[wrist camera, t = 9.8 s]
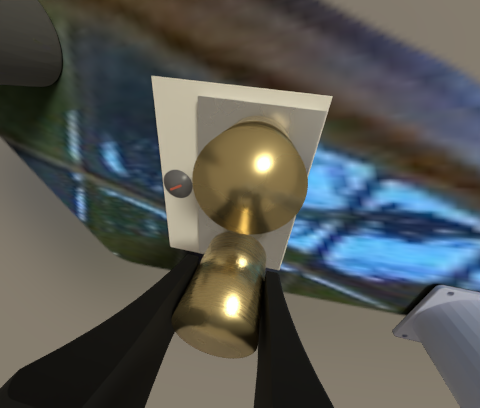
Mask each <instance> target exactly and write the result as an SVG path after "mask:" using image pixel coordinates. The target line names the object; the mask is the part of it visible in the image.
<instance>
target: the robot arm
mask: <svg viewBox="0 0 480 408" xmlns="http://www.w3.org/2000/svg"><path fill="white" fill-rule="evenodd" d="M197 267H198V256H195V255H190V254H188V255H186V256H185V257H184V258H183V259H182V260H181V261H180V262H179V263H178V264H177V265H176V266H175V267H174V268H173V269H172V270H171V271H170V272H169V273H168V274H166V275H165V276H164V277H163V278H162V279H161V280H160V281H159V282H157V283H156V284H155V285H154V286H153V287H151V288H150V289H149V290H148V291H146V292H145V293H144V294H143V295H142V296H140V297H139V298H137V299H136V300H135V301H133V302H132V303H131V304H129V305H128V306H127V307H125V308H124V309H123V310H121V311H120V312H118V313H117V314H115V315H114V316H112V317H111V318H109V319H108V320H106V321H105V322H103V323H101V324H100V325H98V326H97V327H95V328H93V329H92V330H90V331H88V332H87V333H85V334H83V335H81V336H80V337H78V338H76V339H75V340H73V341H71V342H70V343H68V344H66V345H64V346H63V347H61V348H59V349H57V350H55V351H53V352H51V353H50V354H48V355H46V356H44V357H42V358H40V359H38V360H36V361H34V362H33V363H31V364H29V365H27V366H25V367H23V368H21V369H20V370H18V371H17V372H16V373H15V374H14V375H13V376H12V377H11V378H10V379H9V380H8V381H7V382H6V383H5V384H4V385H3V386H2V387H1V388H0V408H145V405H146V402H147V400H148V397H149V394H150V391H151V389H152V386H153V384H154V381H155V379H156V376H157V373H158V371H159V368H160V365H161V363H162V360H163V358H164V355H165V353H166V350H167V348H168V345H169V343H170V341H171V339H172V336H173V334H174V332H175V330H174V329H173V326H172V322H171V319H172V316H173V314H174V312H175V310H176V308H177V306H178V304H179V302H180V300H181V298H182V296H183V294H184V292H185V291H186V289H187V287H188V285H189V283H190V281H191V279H192V277H193V275H194V273H195V271H196V269H197ZM392 332H393V334H394V335H395V336H396V337H400V338H404V339H409V340H413V341H417V342H421V343H422V345H423V346H424V348H425V350H426V351H427V353H428V355H429V356H430V358H431V359H432V361H433V363H434V365H435V366H436V368H437V370H438V371H439V373H440V375H441V376H442V378H443V380H444V381H445V383H446V385H447V386H448V388H449V389H450V391H451V393H452V394H453V396H454V398H455V399H456V401H457V403H458V404H459V406H460V408H480V292H475V291H470V290H465V289H460V288H455V287H451V286H446V285H438V286H436V287H434V288H433V289H432V290H431V291H430V292H429V293H428V294H427V295H426V296H425V297H424V299H423V300H422V301H421V302H420V303H419V304H418V305H417V306H416V307H415V308H414V309H413V310H412V311H411V312H410V313H409V314H408V315H407V316H406V317H405V318H404V319H403V320H402V321H401V322H400V323H399V324H398V325H397V326H396V327H395V328H394V329H393V331H392ZM254 408H334V407H333V405H332V403H331V401H330V399H329V397H328V395H327V394H326V392H325V390H324V388H323V386H322V384H321V382H320V381H319V379H318V377H317V375H316V373H315V371H314V369H313V367H312V365H311V363H310V361H309V358H308V356H307V354H306V352H305V350H304V348H303V345H302V343H301V341H300V339H299V336H298V333H297V331H296V329H295V326H294V323H293V321H292V318H291V316H290V313H289V310H288V307H287V304H286V301H285V298H284V294H283V291H282V287H281V283H280V278H279V275H278V273H274V272H269V271H267V272H266V276H265V279H264V288H263V298H262V308H261V318H260V329H259V339H258V366H257V378H256V389H255V400H254Z"/></svg>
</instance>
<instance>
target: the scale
mask: <svg viewBox="0 0 480 408" xmlns="http://www.w3.org/2000/svg"><path fill="white" fill-rule="evenodd" d="M151 77H152V86H153V95H154V104H155V113H156V122H157V131H158V140H159V149H160V158H161V167H162V176H163V185H164V194H165V203H166V212H167V221H168V230H169V239H170V247H173V248H178V249H183V250H187V251H192V252H197V253H199V204H198V202H197V200H196V197H195V194H194V190H193V184H192V175H193V169H194V165H195V162H196V160H197V157H198V96H205V97H213V98H221V99H229V100H238V101H246V102H254V103H262V104H270V105H278V106H287V107H295V108H303V109H311V110H319V111H327V113H328V110H329V106H330V103H331V100H332V97H333V96H325V95H316V94H308V93H299V92H290V91H281V90H272V89H264V88H255V87H246V86H237V85H228V84H219V83H211V82H202V81H193V80H184V79H175V78H167V77H158V76H151ZM327 113H326V116H327ZM326 116H325V119H326ZM325 119H324V123H325ZM324 123H323V126H324ZM323 126H322V129H323ZM322 129H321V132H320V136H321V133H322ZM320 136H319V139H320ZM319 139H318V142H319ZM318 142H317V146H318ZM317 146H316V149H317ZM316 149H315V152H316ZM315 152H314V155H315ZM314 155H313V159H314ZM313 159H312V162H313ZM312 162H311V165H312ZM311 165H310V168H311ZM309 172H310V169H309ZM309 172H308V175H309ZM308 175H307V178H308ZM295 217H296V215H295ZM294 220H295V218H294ZM293 224H294V221H293ZM293 224H292V227H293ZM291 230H292V228H291ZM290 233H291V231H290ZM289 237H290V234H289ZM288 240H289V238H288ZM287 243H288V241H287ZM286 246H287V244H286ZM285 250H286V247H285ZM284 253H285V251H284ZM201 254H202V253H201ZM283 256H284V254H283ZM282 259H283V257H282ZM281 263H282V261H281ZM280 266H281V264H280ZM271 269H272V268H271ZM279 269H280V267H279ZM276 270H277V269H276Z"/></svg>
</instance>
